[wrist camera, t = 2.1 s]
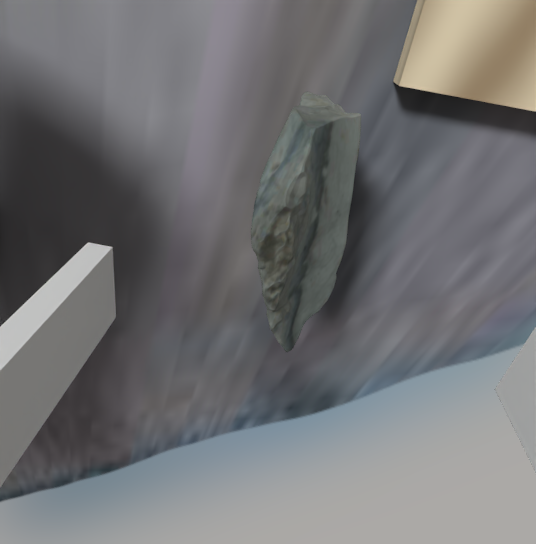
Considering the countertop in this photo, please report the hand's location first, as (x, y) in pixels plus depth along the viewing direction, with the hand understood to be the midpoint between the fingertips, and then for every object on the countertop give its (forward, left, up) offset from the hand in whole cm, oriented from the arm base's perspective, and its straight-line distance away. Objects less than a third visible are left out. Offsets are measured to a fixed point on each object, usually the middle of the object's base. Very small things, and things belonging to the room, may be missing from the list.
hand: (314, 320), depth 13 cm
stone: (0, 0, -12) cm, 12 cm away
